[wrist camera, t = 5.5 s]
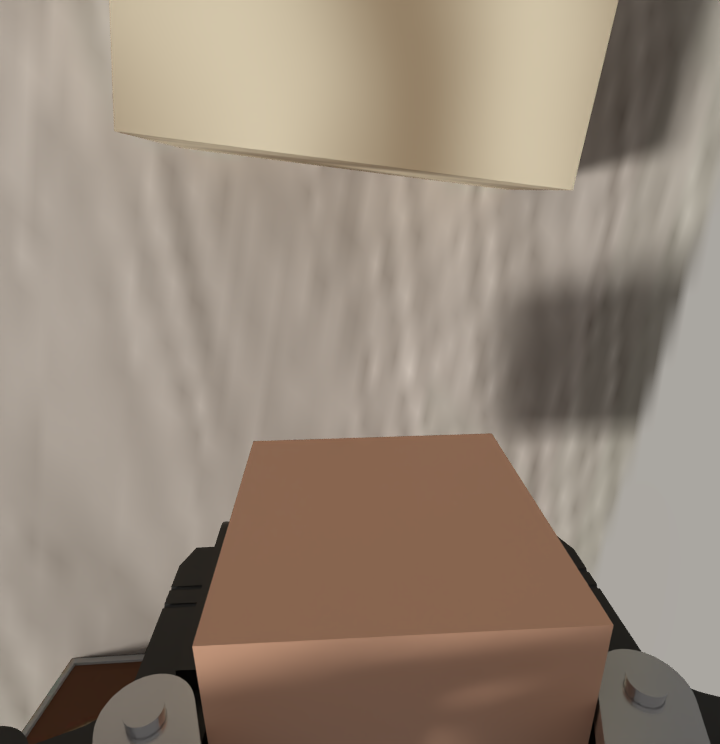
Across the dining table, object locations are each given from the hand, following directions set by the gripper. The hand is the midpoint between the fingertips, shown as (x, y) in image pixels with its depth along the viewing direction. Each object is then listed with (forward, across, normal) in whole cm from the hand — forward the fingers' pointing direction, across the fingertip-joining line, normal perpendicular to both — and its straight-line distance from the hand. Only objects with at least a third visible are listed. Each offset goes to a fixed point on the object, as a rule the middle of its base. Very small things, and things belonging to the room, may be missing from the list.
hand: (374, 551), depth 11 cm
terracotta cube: (0, 0, 0) cm, 0 cm away
